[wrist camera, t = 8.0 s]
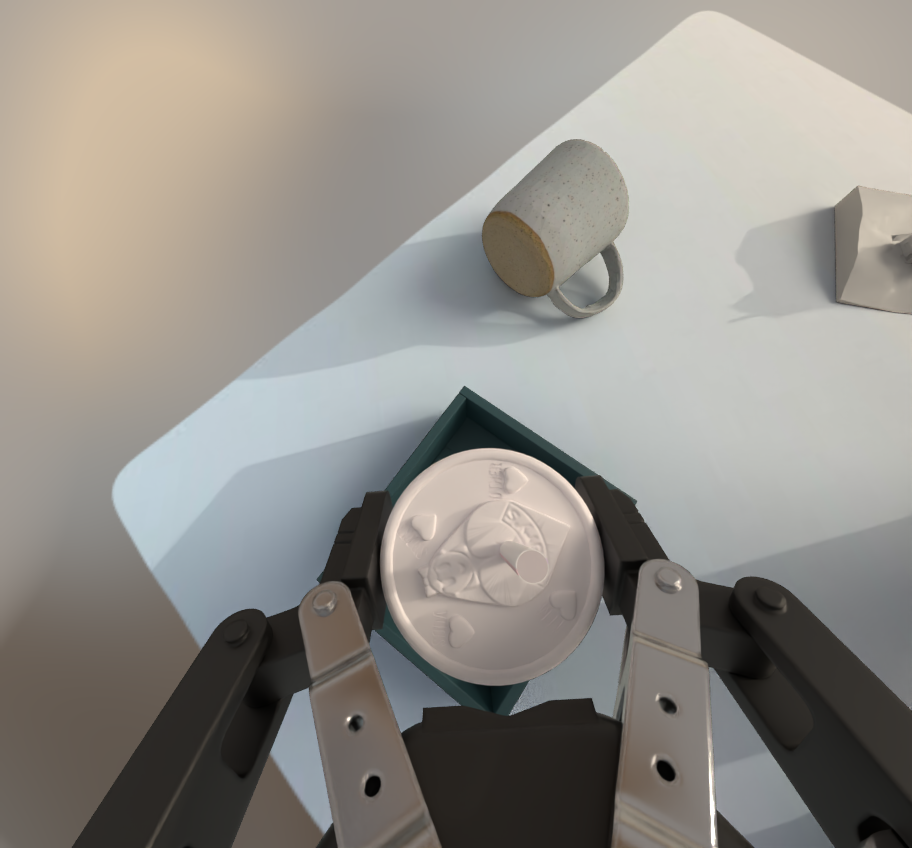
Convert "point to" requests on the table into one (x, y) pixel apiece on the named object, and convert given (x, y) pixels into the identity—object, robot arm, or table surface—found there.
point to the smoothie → (492, 566)
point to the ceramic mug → (560, 225)
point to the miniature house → (874, 250)
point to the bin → (454, 432)
